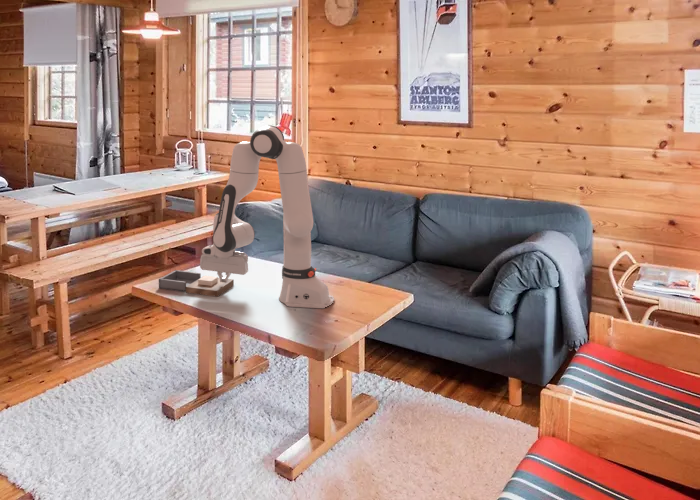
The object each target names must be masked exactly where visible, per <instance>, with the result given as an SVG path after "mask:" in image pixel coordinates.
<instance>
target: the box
mask: <svg viewBox="0 0 700 500" xmlns="http://www.w3.org/2000/svg"><path fill="white" fill-rule="evenodd" d="M201 277H202V274H201V272H196V271H195V272H194V271H187V270H180V269H179V270H178V269H175V270H173V271H171V272H169V273H167V274H165V275H164V276H162V277H160V278H159V279H158V289H163V290H170V291H178V292H184V293H186V286H188V285H190V284H191V283H193V282H195V281H196V280H198V279H200V278H201Z"/></svg>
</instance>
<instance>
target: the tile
mask: <svg viewBox="0 0 700 500" xmlns="http://www.w3.org/2000/svg"><path fill="white" fill-rule="evenodd" d="M201 277H202V278H200V279H198V284H201V285H209V286H212V285H213V284H215V283H216V282H218V278H219V276H210V275H203V276H201Z"/></svg>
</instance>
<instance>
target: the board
mask: <svg viewBox="0 0 700 500" xmlns="http://www.w3.org/2000/svg"><path fill="white" fill-rule="evenodd" d="M202 277H203V276H201V278H202ZM234 285H235V284H234V279H232V278H231V279H230V278H228V282H227V283H225V282H220V278H219V277H218V282H216V283H215V284H213V285H212V286H209V285H201V284H198V280H196V281H195V282H193V283H191V284H190V285H188V286H186V291H185V293H187V294H194V295H201V296H202V295H203V296H210V297H218V296H220V295H222V294H223V293H224V292H226V291H227V290H229V289H230V288H231V287H234Z"/></svg>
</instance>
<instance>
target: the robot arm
mask: <svg viewBox="0 0 700 500" xmlns="http://www.w3.org/2000/svg"><path fill="white" fill-rule="evenodd" d="M262 158H266V159H270V160H275V161H276V165H277V172H278V180H279V189H280V196H281V204H282V210H283V214H282V215H283V216H282V218H283V219H282V220H283V225H282V227H283V228H282V229H283V231H282V233H283V265H282V269H281V278H282V283H281V284H282V285H281V290H280V295H279V296H278V300H279V301H280V302H281V303H283V304H285V306H286V307H293V308H309V309H310V308H311V309H325V307H327V306H329V305H331V304H332V303H334V302H335V298H334V295H331V294H330V291H329V288H328V285H327V284H326V283H325V282H324V281H322V280H321V279H320V278H319V277H318V276H316V271H317V267H315V268H314V267H313V266H312V239H311V238H312V233H311V232H312V230H313V227H314V216H313V215H314V214H313V208H312V201H311V194H310V189H309V187H310V186H309V181H308V171H307V170H308V169H307V164H306V163H307V162H306V158H305V153H304V151H303V148H302V146H301V145H300V144H299V143H297V142H293V141H288V142H287V141H286V140H285V137H284V134H283V132H282V130H281V129H280V128H278V127H277V126H275V125H265V126H261V127H259V128H258V129H257V130H255V131H254V132H253V133H252V134H251V137H250V140H249V141H241V142H238V143H236V144H235V145H234V146H233V149H232V153H231V158H230V164H229V165H230V168H229V175H228V176H229V177H228V180H227V183H226V185H225V186H224V189H223V190H222V193H221V198H220V203H219V209H218V212H217V213H216V214H215V215H214V218H213V226H212V229H213V230H212V231H213V233H212V244H210V245H207V246H204V247H203V248H202V249H201V253H202V254H201V255H200V259H199V261H200V263H199V268H200V270H203V271H209V272H217V273H216V275H217V277H218V278H220V282H225V283H227V282H228V279H230V278H229V277H230V276H231V275H232V274H233V275H241V276H244V275H246V274H247V273H248V272H249V263H248V261H249V256H248V254H247V253H245V252H243V251H242V252H241V251H237V250H236V249H239V248H242V247H245V246H248V245H250V244H252V243H253V242H254V239H255V236H256V234H255V229H254V227H253V226H252V224H250V223H249V222H247V221H243V220H242V219H240V218H239V217H237V215H236V214H235V213H236V208H237V205H238V204H239V203H240V202H241V200H242V199H244V198H245V197H246V196H248V195H249V194H251V193H252V192H253V191H254V190H255V189H256V188H257V185H258V181H259V171H260V162H261V159H262ZM223 273H225V277H224V276H223ZM333 301H334V302H333ZM332 305H333V304H332ZM332 305H331V306H332ZM329 307H330V306H329ZM327 308H328V307H327Z"/></svg>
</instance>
